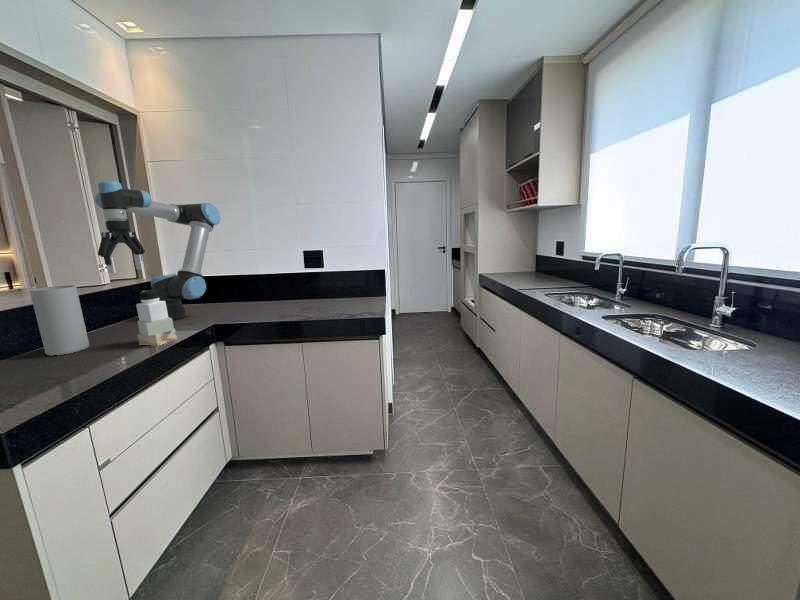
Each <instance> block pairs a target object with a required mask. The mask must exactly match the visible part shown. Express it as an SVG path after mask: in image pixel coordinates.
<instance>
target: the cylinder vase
mask: <svg viewBox="0 0 800 600" xmlns="http://www.w3.org/2000/svg"><path fill="white" fill-rule="evenodd" d="M29 294H30V298H31V301H32V305H33V310H34V313H35V317H36V321H37V322H36V323H37V325H38V329H39V334H40V336H41V341H42V345H43V349H44V353H45V355H47V356H51V357H53V356H54V355H57V356H63V355H64V354H65V355H70V354H74V352H75V353H78V352H81V350H82V351H83V350H84V351H85V350H86V349H88V348H89V347H90V341H89V338H88V333H87V328H86V324H85V320H84V316H83V311H82V307H81V302H80V297H79V293H78V289H77V285H76V284H75V285H74V284H72V285H71V284H69V285H57V286H56V285H55V286H46V287H38V288H33V289H29ZM65 355H64V356H65ZM54 357H55V356H54Z"/></svg>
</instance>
